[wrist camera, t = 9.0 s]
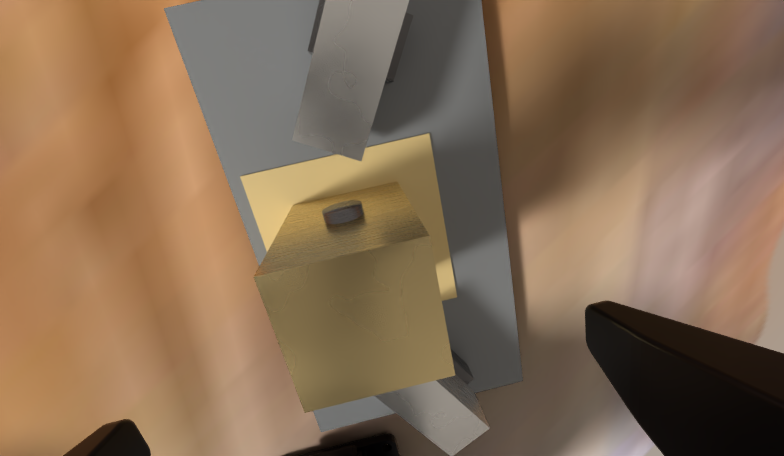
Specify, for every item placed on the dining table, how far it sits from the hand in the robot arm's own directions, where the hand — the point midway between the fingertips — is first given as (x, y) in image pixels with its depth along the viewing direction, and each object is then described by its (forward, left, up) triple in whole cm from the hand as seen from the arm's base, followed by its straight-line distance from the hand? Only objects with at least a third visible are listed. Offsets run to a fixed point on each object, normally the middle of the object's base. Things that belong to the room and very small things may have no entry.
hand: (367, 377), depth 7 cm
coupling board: (0, -1, -9) cm, 9 cm away
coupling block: (0, 0, -8) cm, 8 cm away
